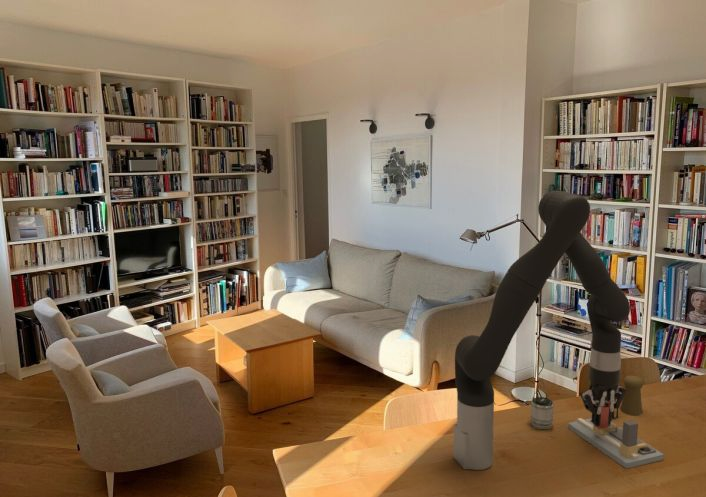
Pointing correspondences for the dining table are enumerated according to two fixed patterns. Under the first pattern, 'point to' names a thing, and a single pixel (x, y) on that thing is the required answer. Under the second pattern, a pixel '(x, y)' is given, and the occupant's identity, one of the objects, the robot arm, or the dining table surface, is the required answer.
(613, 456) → the grey slider track base
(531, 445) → the dining table surface
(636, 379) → the olive pepper mill
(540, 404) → the camera lens
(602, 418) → the red slider with pointer
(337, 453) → the dining table surface
